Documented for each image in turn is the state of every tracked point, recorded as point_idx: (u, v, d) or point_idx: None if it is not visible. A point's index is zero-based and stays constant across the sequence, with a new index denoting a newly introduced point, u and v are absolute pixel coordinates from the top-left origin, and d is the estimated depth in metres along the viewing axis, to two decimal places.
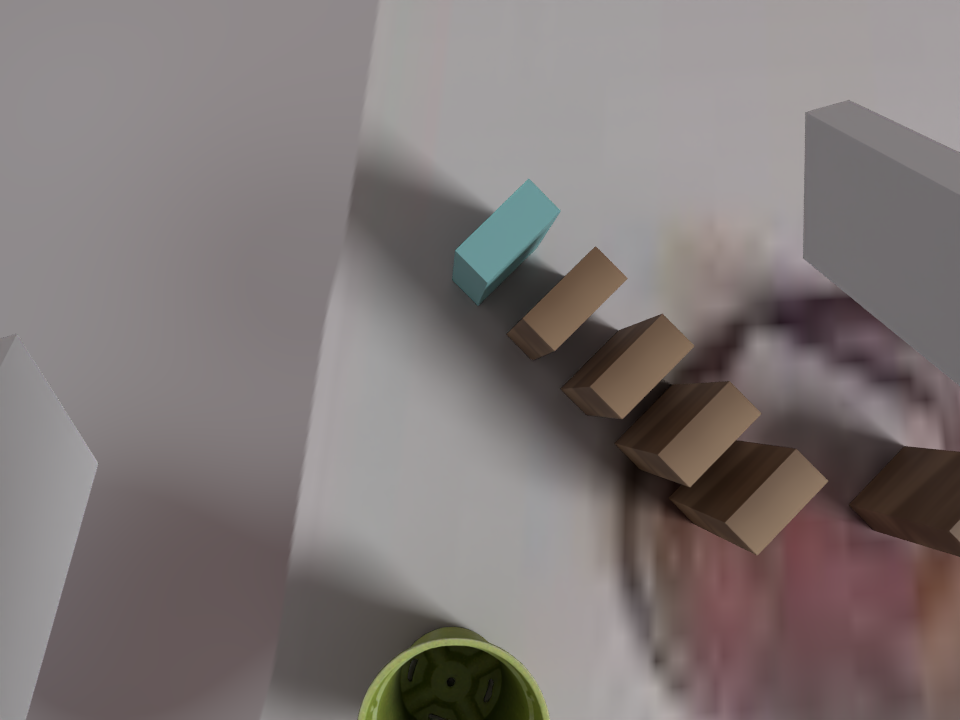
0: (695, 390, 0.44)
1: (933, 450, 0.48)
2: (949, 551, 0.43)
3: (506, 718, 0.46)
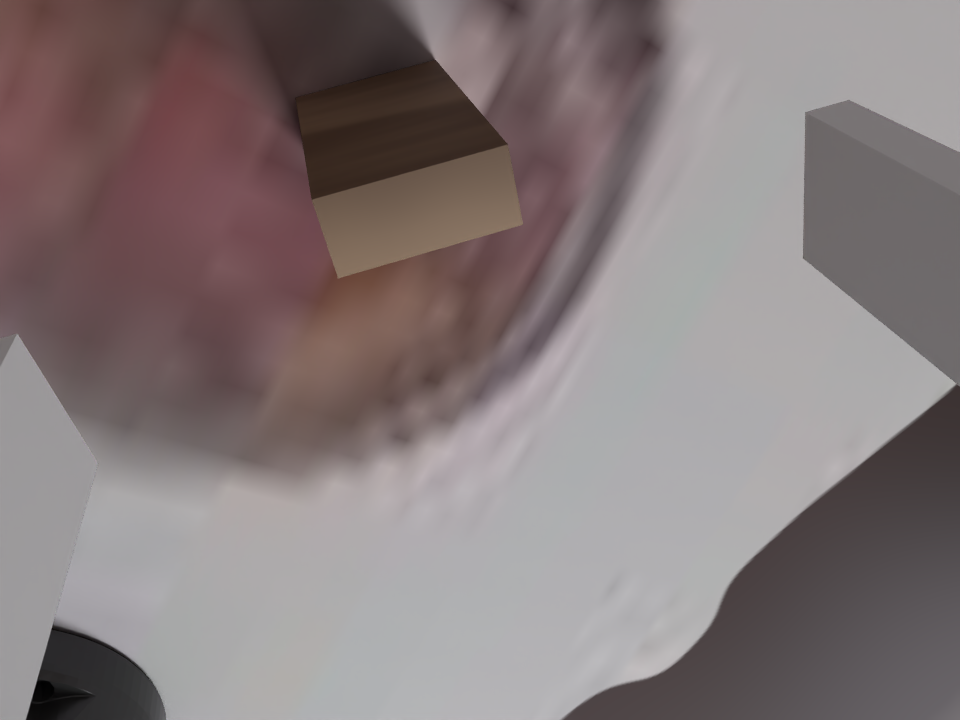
0: None
1: (450, 80, 0.26)
2: None
3: None
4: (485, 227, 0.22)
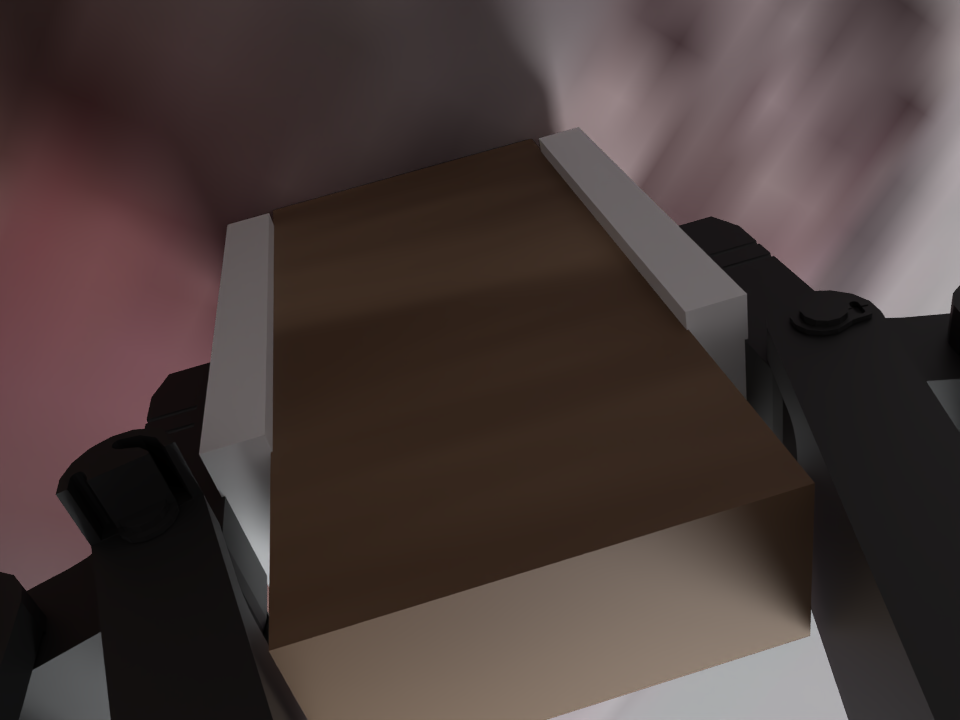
0: None
1: (576, 199, 0.13)
2: None
3: None
4: (719, 651, 0.08)
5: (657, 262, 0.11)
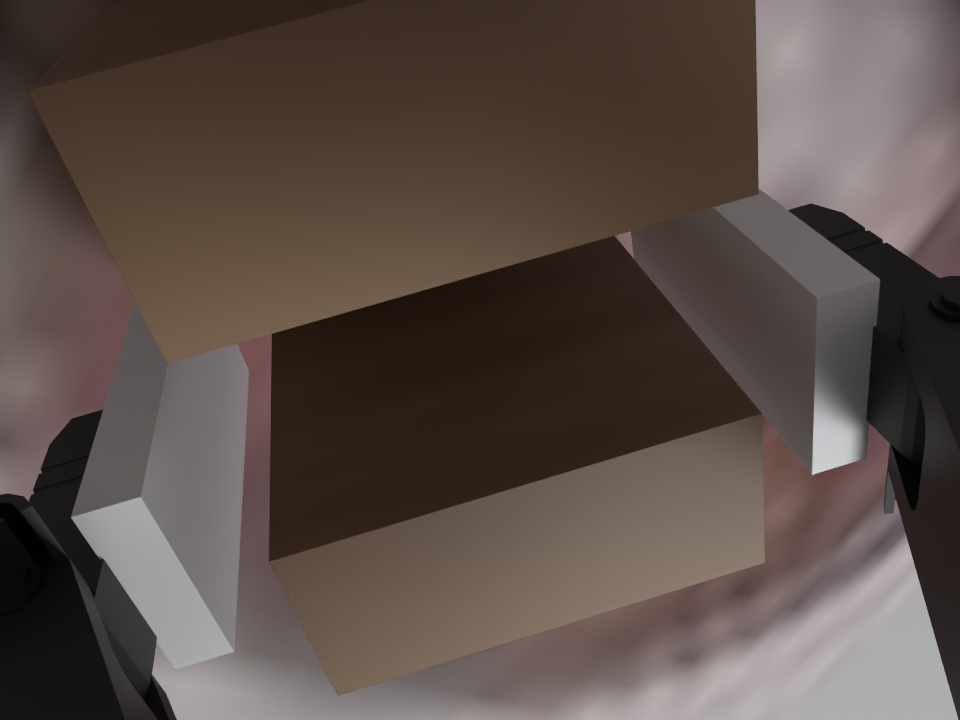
0: None
1: None
2: None
3: None
4: (681, 575, 0.09)
5: (775, 248, 0.10)
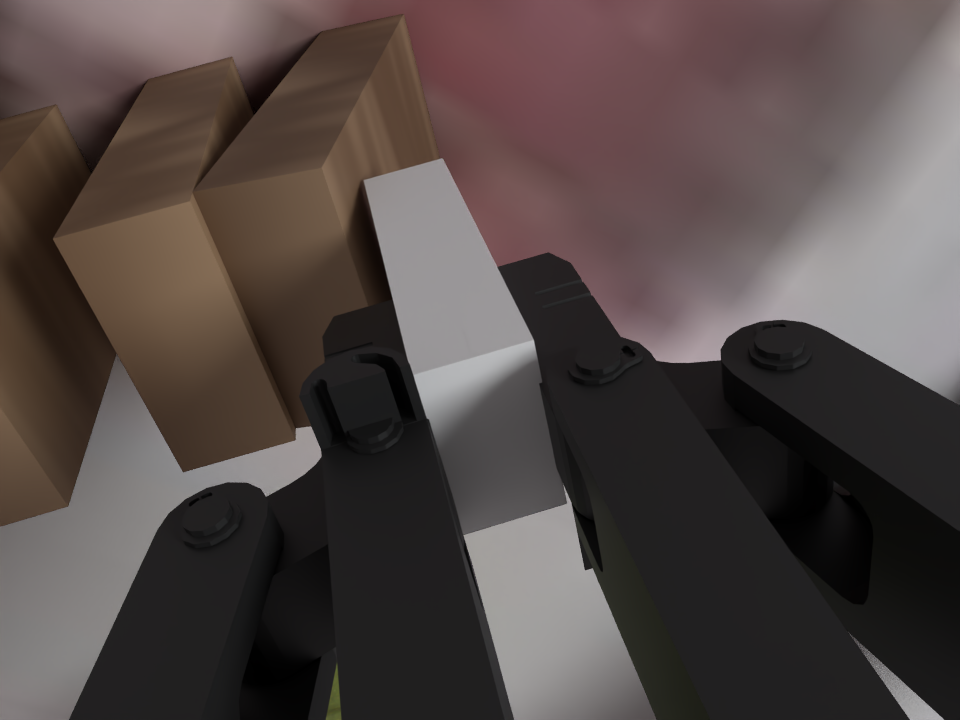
0: None
1: (294, 68, 0.19)
2: None
3: None
4: (328, 226, 0.14)
5: (464, 304, 0.11)
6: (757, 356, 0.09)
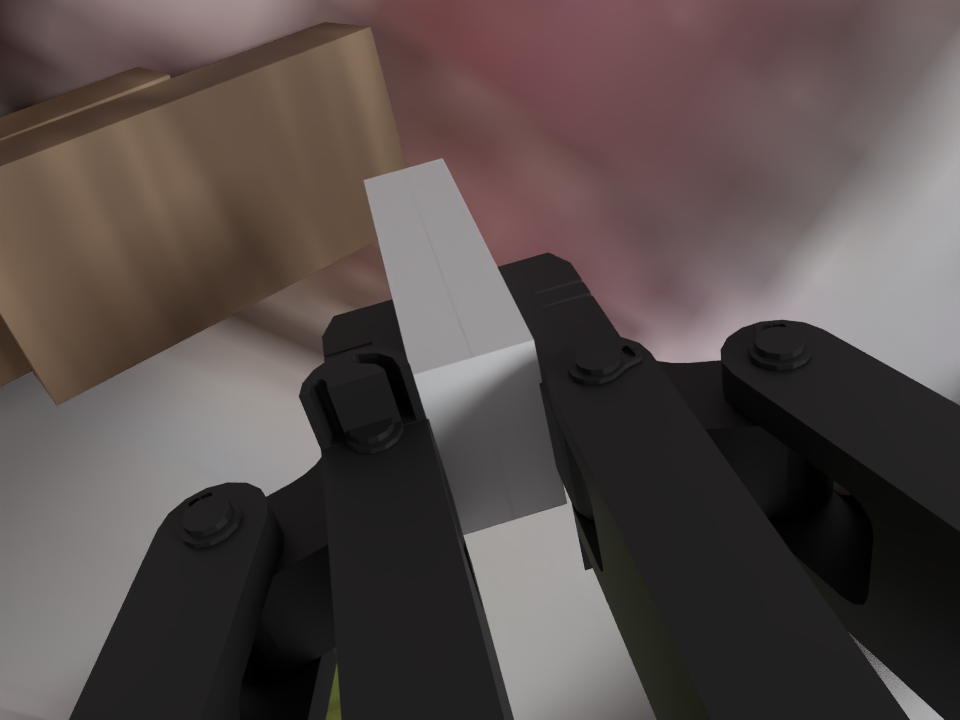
0: None
1: (218, 64, 0.20)
2: None
3: None
4: None
5: (464, 304, 0.11)
6: (757, 356, 0.09)
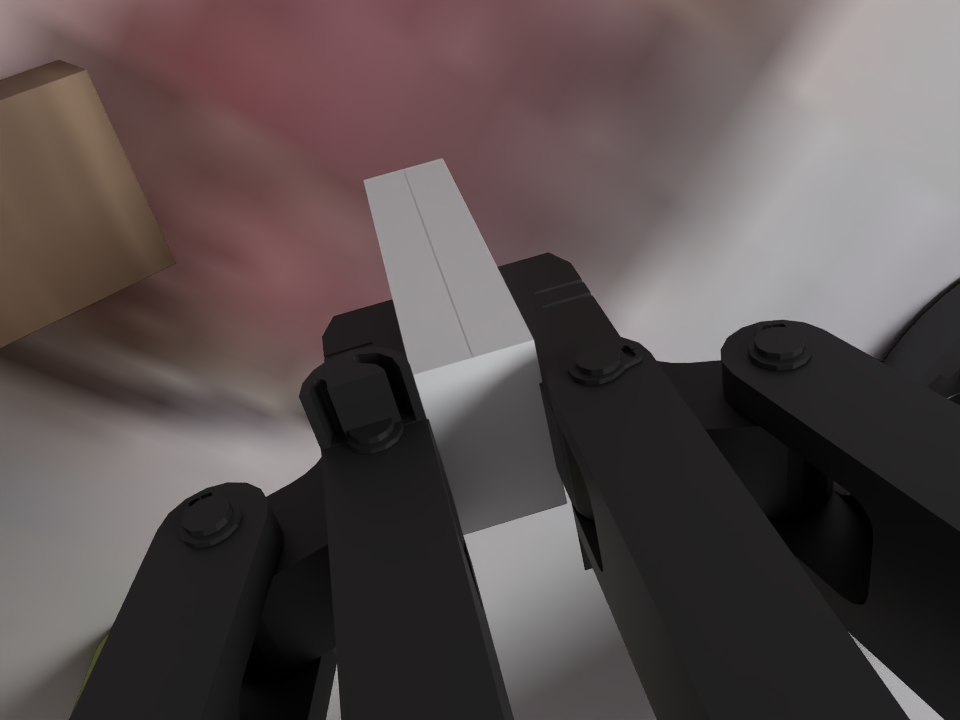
0: None
1: None
2: None
3: None
4: None
5: (464, 304, 0.11)
6: (756, 357, 0.09)
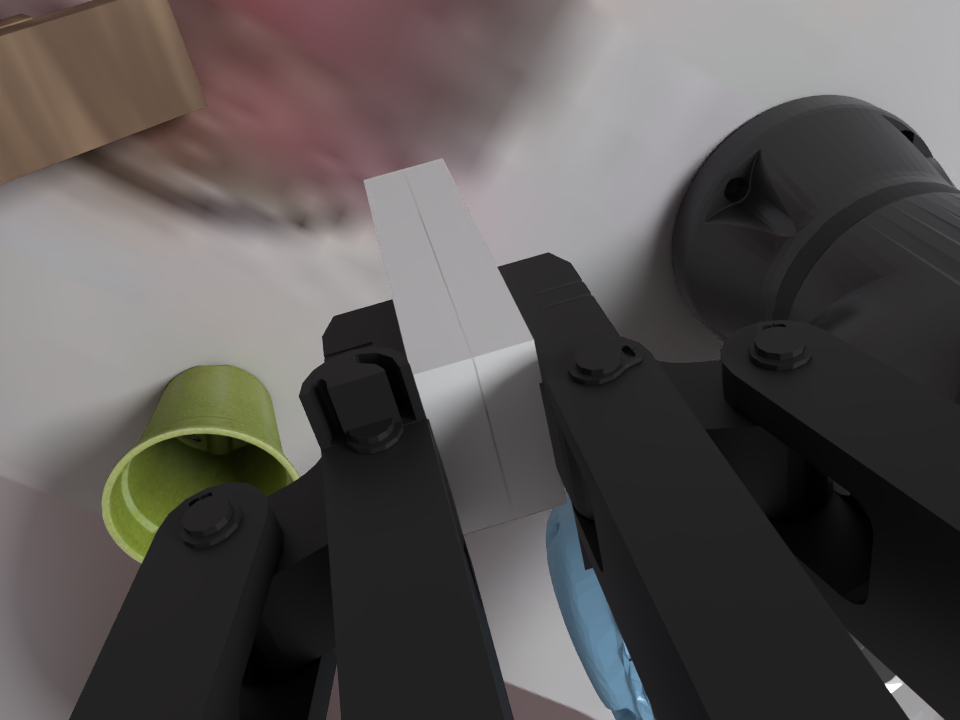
0: None
1: (76, 7, 0.35)
2: None
3: None
4: None
5: (464, 304, 0.11)
6: (757, 356, 0.09)
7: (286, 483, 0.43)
